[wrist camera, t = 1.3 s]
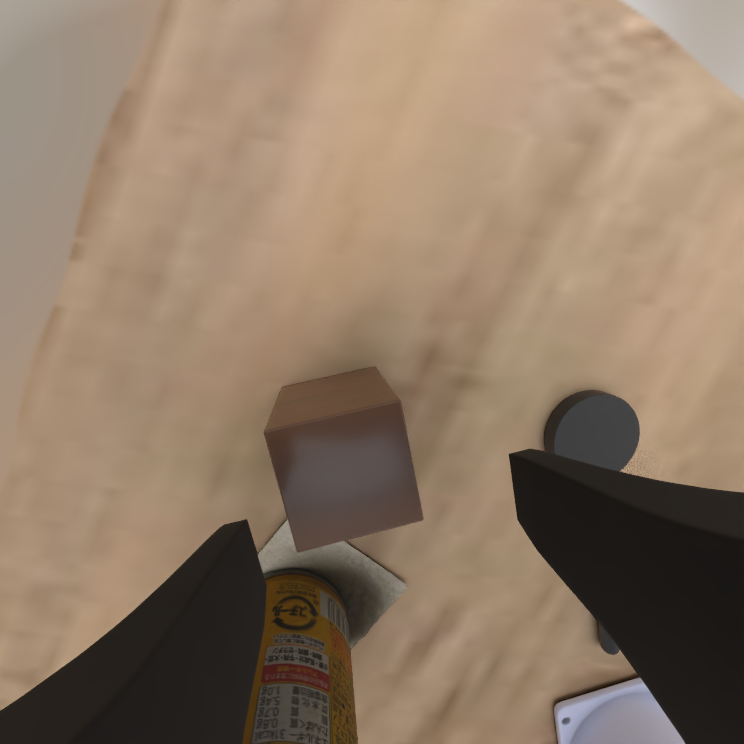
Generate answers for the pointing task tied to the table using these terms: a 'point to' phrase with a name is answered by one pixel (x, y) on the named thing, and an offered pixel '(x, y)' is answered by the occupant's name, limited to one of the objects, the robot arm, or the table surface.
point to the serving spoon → (594, 441)
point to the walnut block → (342, 458)
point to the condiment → (313, 640)
